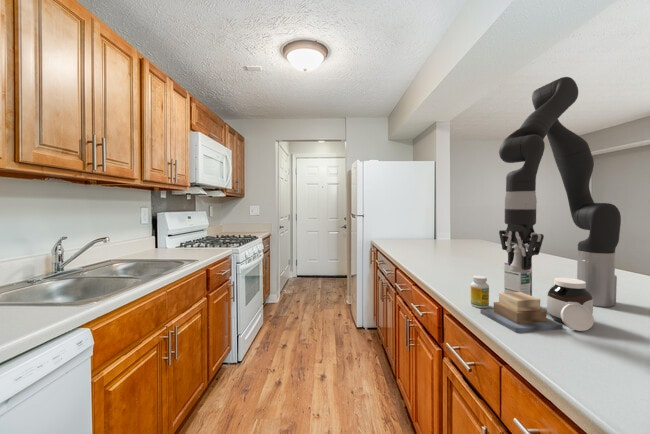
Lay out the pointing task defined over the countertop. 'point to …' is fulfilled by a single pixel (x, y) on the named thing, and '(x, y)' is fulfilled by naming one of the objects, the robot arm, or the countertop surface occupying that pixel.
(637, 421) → the countertop surface
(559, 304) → the spread jar
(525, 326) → the block tower
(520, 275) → the syrup box
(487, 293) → the supplement bottle
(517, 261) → the rook chess piece
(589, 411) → the countertop surface
